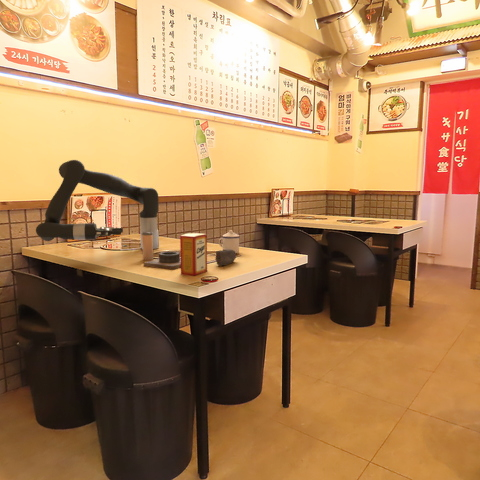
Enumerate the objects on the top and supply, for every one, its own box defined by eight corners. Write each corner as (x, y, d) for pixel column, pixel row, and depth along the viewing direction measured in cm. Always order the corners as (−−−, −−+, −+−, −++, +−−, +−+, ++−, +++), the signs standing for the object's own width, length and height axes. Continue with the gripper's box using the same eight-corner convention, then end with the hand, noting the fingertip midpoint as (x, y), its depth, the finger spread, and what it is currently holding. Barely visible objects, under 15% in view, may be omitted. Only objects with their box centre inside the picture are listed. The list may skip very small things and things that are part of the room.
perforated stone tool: (230, 260, 187) (230, 246, 186) (240, 262, 184) (240, 247, 183) (212, 266, 174) (211, 250, 173) (221, 267, 172) (221, 252, 171)
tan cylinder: (147, 258, 193) (146, 231, 191) (155, 259, 190) (154, 232, 188) (140, 259, 188) (139, 232, 186) (148, 260, 186) (147, 233, 184)
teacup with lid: (242, 252, 209) (242, 230, 207) (233, 254, 201) (233, 232, 200) (223, 250, 215) (223, 228, 214) (214, 252, 208) (214, 230, 206)
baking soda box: (193, 269, 168) (193, 232, 166) (207, 271, 165) (206, 232, 163) (181, 274, 160) (180, 234, 157) (194, 275, 157) (194, 235, 154)
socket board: (166, 259, 189) (166, 249, 188) (194, 262, 181) (194, 252, 181) (143, 265, 175) (143, 254, 174) (172, 269, 168) (172, 258, 167)
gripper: (81, 224, 174) (120, 224, 177) (87, 222, 188) (123, 221, 191) (82, 241, 175) (120, 241, 178) (88, 237, 189) (123, 237, 192)
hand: (121, 231), depth 185 cm, fingers open, 8 cm apart
